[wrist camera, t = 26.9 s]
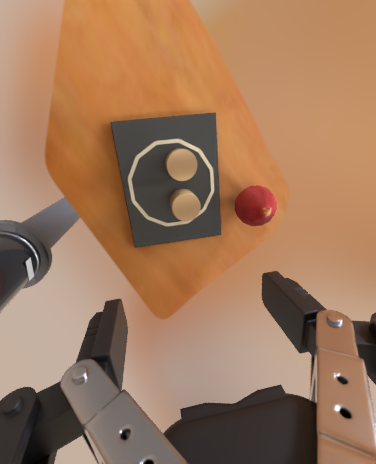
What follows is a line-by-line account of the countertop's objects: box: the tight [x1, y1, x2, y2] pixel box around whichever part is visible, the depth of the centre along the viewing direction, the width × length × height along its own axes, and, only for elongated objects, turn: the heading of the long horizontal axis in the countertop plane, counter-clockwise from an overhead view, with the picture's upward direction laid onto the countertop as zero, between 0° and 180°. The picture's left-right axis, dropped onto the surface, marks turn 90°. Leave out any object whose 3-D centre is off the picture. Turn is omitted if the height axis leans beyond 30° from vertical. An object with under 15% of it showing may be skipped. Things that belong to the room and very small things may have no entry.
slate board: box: [111, 113, 221, 248], centre depth 34 cm, size 14×18×1 cm
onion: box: [235, 186, 277, 226], centre depth 33 cm, size 6×6×8 cm
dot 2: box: [170, 189, 201, 221], centre depth 33 cm, size 4×4×4 cm
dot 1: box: [165, 149, 197, 181], centre depth 31 cm, size 4×4×4 cm
